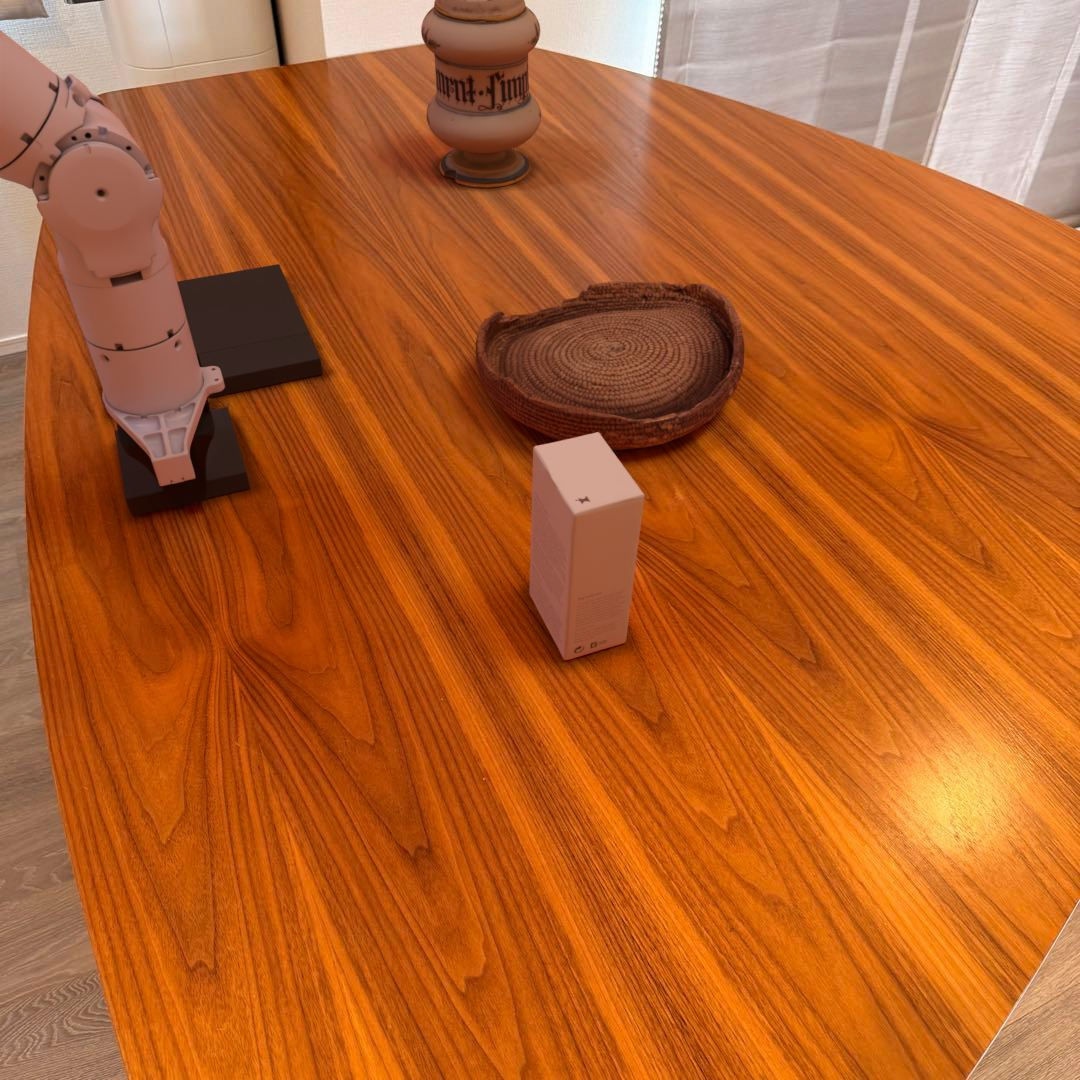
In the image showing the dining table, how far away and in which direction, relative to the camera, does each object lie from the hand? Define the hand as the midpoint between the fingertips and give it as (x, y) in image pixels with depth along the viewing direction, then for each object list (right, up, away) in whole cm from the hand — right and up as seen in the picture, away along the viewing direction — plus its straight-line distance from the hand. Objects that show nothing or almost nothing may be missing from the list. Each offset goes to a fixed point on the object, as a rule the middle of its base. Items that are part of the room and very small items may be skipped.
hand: (189, 498), depth 66 cm
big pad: (-4, +14, +15) cm, 21 cm away
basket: (+30, +10, +13) cm, 34 cm away
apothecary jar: (+18, +38, +41) cm, 58 cm away
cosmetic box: (+26, -8, -5) cm, 28 cm away
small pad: (-2, +4, +5) cm, 7 cm away
